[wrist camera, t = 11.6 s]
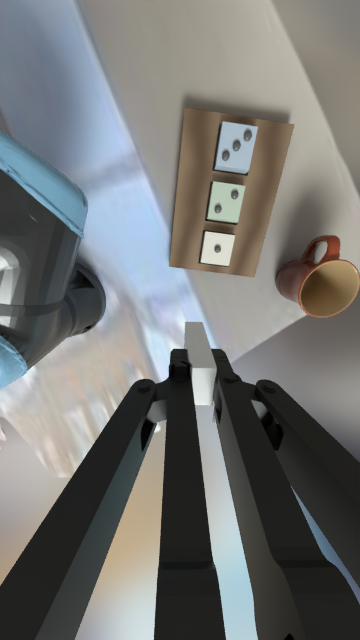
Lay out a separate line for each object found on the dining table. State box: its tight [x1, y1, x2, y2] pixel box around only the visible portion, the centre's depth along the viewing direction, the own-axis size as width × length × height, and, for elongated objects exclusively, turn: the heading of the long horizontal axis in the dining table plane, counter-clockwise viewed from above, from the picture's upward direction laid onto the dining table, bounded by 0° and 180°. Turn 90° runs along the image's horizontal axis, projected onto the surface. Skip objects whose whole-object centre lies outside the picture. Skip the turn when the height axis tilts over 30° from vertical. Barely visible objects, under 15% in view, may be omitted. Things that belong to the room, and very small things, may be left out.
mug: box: [276, 235, 360, 318], centre depth 32 cm, size 12×9×10 cm
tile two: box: [206, 181, 245, 224], centre depth 32 cm, size 5×5×4 cm
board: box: [169, 107, 294, 277], centre depth 32 cm, size 16×22×2 cm
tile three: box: [213, 121, 258, 175], centre depth 29 cm, size 5×5×4 cm
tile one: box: [199, 232, 235, 266], centre depth 34 cm, size 5×5×4 cm
